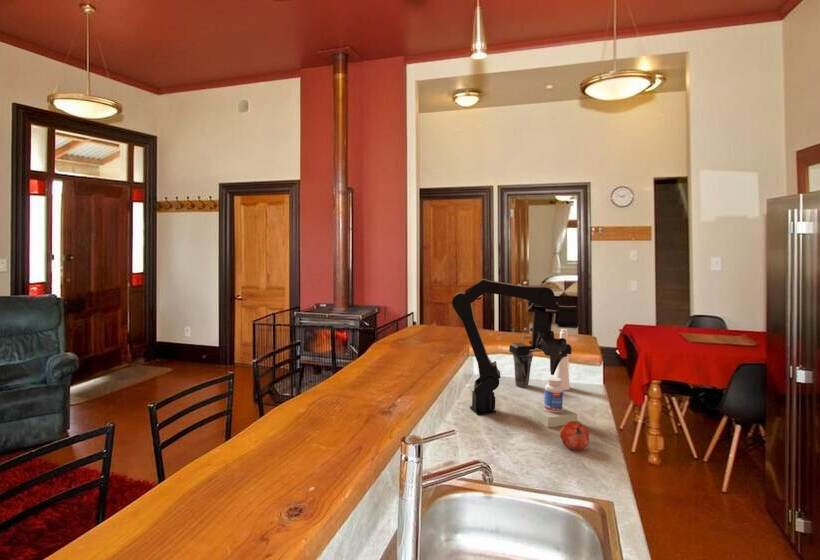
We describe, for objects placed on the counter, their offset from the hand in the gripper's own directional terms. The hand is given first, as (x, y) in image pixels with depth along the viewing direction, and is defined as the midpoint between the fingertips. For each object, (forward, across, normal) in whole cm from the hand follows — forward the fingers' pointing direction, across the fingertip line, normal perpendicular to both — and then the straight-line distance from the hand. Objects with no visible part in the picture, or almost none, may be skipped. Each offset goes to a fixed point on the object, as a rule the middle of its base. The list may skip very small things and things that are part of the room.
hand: (538, 375), depth 154 cm
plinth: (+12, +3, -5) cm, 14 cm away
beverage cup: (+13, +9, +27) cm, 32 cm away
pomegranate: (+13, -2, -24) cm, 27 cm away
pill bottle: (+10, +3, -5) cm, 11 cm away
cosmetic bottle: (+13, +22, +22) cm, 34 cm away
